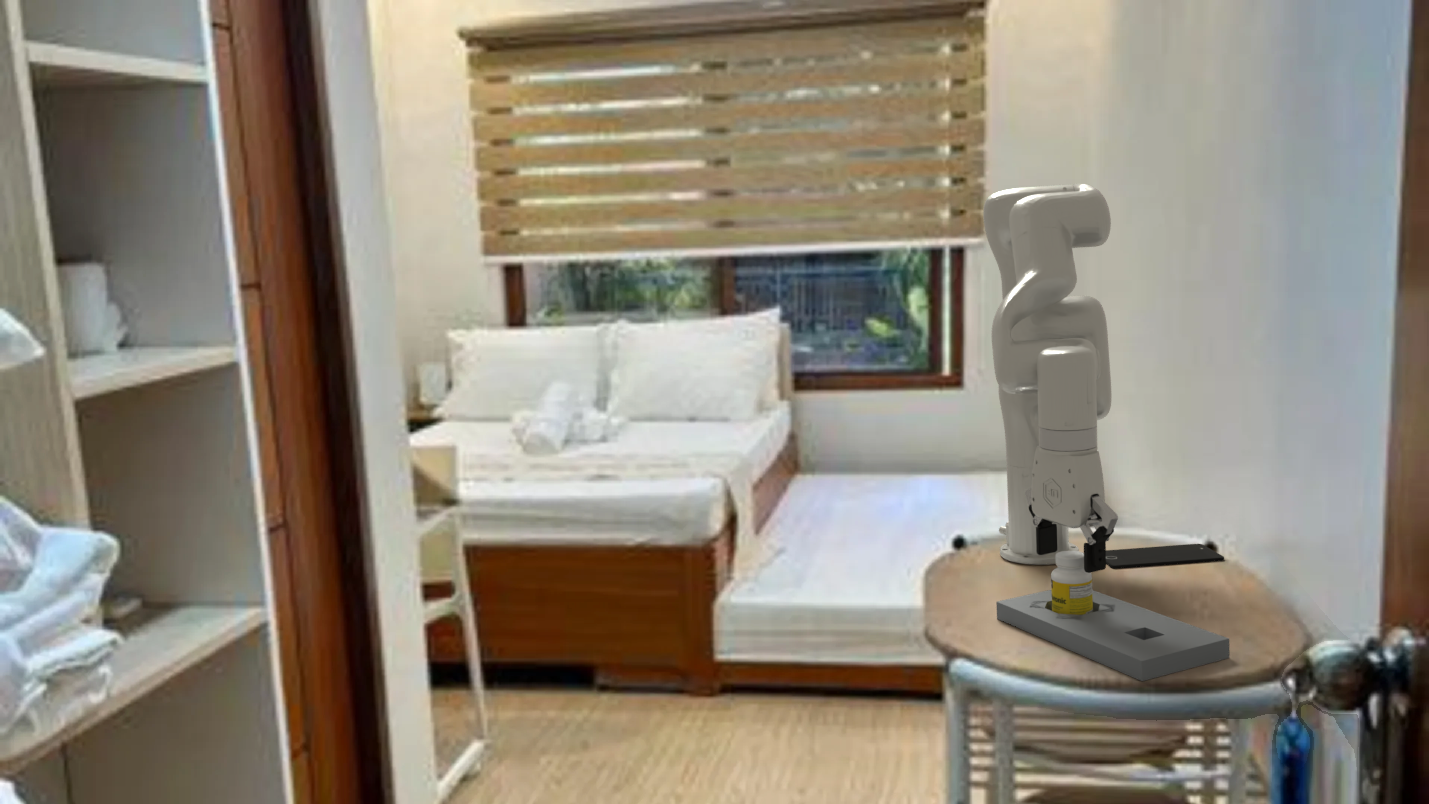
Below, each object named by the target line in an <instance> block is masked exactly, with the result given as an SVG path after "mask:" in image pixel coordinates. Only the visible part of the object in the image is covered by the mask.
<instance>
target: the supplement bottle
mask: <svg viewBox="0 0 1429 804" xmlns="http://www.w3.org/2000/svg"><path fill="white" fill-rule="evenodd" d="M1055 565H1056V566H1057V567H1056V568H1054V569H1053V570H1052V571H1051V572H1050V573H1051V574H1050V584H1051V585H1050V586H1051V589H1050V590H1051V592H1052V611H1053V612H1056V613H1058V614H1073V615H1083V614H1087V613H1092V612H1093V596H1092V590H1093V574H1092V572H1091V573H1087V572H1085V570H1084V551H1083V552H1082V551H1080V550H1079V551H1061V552H1058V553H1056V564H1055Z"/></svg>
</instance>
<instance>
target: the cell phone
mask: <svg viewBox="0 0 1429 804" xmlns="http://www.w3.org/2000/svg"><path fill="white" fill-rule="evenodd" d="M1224 561H1225V557H1224V556H1223V555H1221V554H1219V553H1218V552H1216V551H1215V550H1213V549H1212V548H1209V547H1208V546H1206V545H1204V544H1203V543H1187V544H1177V545H1176V544H1175V545H1162V546H1161V545H1160V546H1147V547H1135V548H1122V549H1119V548H1118V549H1108V550H1107V549H1106V566H1108V567H1109V568H1110V569H1113V570H1117V569H1119V570H1121V569H1133V568H1146V567H1147V568H1148V567H1158V566H1172V565H1173V566H1174V565H1175V566H1176V565H1186V564H1189V565H1190V564H1199V563H1201V564H1202V563H1214V562H1224Z"/></svg>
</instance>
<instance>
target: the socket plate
mask: <svg viewBox="0 0 1429 804" xmlns="http://www.w3.org/2000/svg"><path fill="white" fill-rule="evenodd" d="M1092 596H1093V612H1092V613H1087V614H1083V615H1073V614H1058V613H1056V612H1053V611H1052V592H1051V589H1048V590H1044V591H1039V592H1034V593H1030V594H1024V595H1022V596H1017V597H1012V598H1007V599H1002V600H999V601H996V619H997V620H998V621H1002V622H1003V621H1004V622H1003V623H1006V624H1008V623H1009V625H1010V624H1011V625H1010V626H1012V627H1015V626H1016V627H1015V628H1016V629H1017V628H1018V629H1020V630H1022V631H1025V632H1027V633H1029V634H1032V635H1034V636H1036V637H1038V638H1040V639H1044V640H1046V641H1047V642H1050V643H1053V644H1054V645H1057V646H1059V647H1061V648H1064V649H1066V650H1069V651H1071V652H1073V653H1075V654H1078V655H1080V656H1083V657H1085V658H1087V659H1089V660H1092V661H1094V662H1097V663H1099V664H1101V665H1103V666H1105V667H1109V668H1110V669H1113V670H1115V671H1118V672H1120V673H1122V674H1124V675H1127V676H1129V677H1131V678H1133V679H1136V680H1139V681H1141V682H1145V681H1148V680H1151V679H1156V678H1159V677H1162V676H1166V675H1171V674H1173V673H1178V672H1181V671H1185V670H1190V669H1192V668H1197V667H1201V666H1204V665H1208V664H1211V663H1215V662H1219V661H1220V662H1221V661H1223V660H1227V659H1230V638H1229V637H1226V636H1223V635H1220V634H1218V633H1216V632H1215V633H1214V632H1212V631H1210V630H1207V629H1204V628H1201V627H1198V626H1195V625H1193V624H1189V623H1187V622H1184V621H1181V620H1178V619H1175V618H1172V617H1170V616H1167V615H1164V614H1162V613H1158V612H1156V611H1153V610H1150V609H1147V608H1145V607H1141V606H1138V605H1136V604H1133V603H1130V602H1128V601H1124V600H1121V599H1120V598H1116V597H1114V596H1111V595H1108V594H1105V593H1101V592H1099V591H1096V590H1094V589H1092Z"/></svg>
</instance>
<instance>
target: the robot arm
mask: <svg viewBox="0 0 1429 804" xmlns="http://www.w3.org/2000/svg"><path fill="white" fill-rule="evenodd" d="M982 210H983V212H982V214H983V224H984V231H985V235H986V238H987V241H988V245H989V248H990V250H991V252H992V254H993V256H994V257H993V258H994V260H995V262H996V264H997V266H998V269H999V270H998V271H999V273H1000V279H1001V295H1002V296H1001V297H1002V301H1001V303H1000V304H999V306H998V307H997V309H996V312H995V315H994V318H993V321H992V327H991V346H992V356H993V358H992V359H993V367H994V369H993V370H994V375H995V378H996V382H997V384H998V398H999V404H1000V410H1001V414H1002V420H1003V421H1002V422H1003V427H1004V438H1005V454H1006V456H1005V458H1006V483H1007V484H1006V487H1007V488H1006V489H1007V514H1008V515H1007V516H1008V517H1007V519H1008V521H1007V522H1006V523H1005V525H1001V526H999V528H998V532H999V534H1001V535H1004V536H1006V543H1004V544H1002V545H1001V546H1000V547H999V555H1000V556H1001V557H1002V558H1003V559H1004V560H1006V561H1009V562H1013V563H1017V564H1021V565H1022V564H1024V565H1035V566H1036V565H1038V566H1040V565H1043V566H1044V565H1056V553H1058V552H1061V551H1079V552H1080V548H1079V547H1078V546H1077V545H1076V544H1074V543H1072V542H1069V541H1070V539H1069V537H1070V535H1069V528H1070V529H1078V528H1079V529H1080V531H1081V532H1082V534H1083V537H1084V538H1085V540H1086V542H1085V543H1083V553H1084V570H1085V572H1087V573H1091V574H1092V573H1096V572H1100V571H1103V570H1105V569H1107V565H1106V550H1107V546H1106V543H1107V542H1109V540H1110V537H1111V536H1112V534H1113V533H1114V532H1115V526H1116V524H1117V522H1118V519H1119V516H1118V514H1117V513H1116V511H1114V510H1113V509H1112V508H1111V507H1110V506H1109V505H1108V504H1107V503H1106V499H1105V498H1106V496H1105V483H1104V474H1103V467H1102V461H1101V455H1100V452H1099V451H1098V421H1099V420H1102V419H1104V418H1105V417H1107V416H1108V415H1109V413H1110V411H1111V407H1112V379H1111V365H1110V363H1111V362H1110V352H1109V351H1110V350H1109V349H1110V348H1109V337H1108V335H1109V334H1108V325H1107V317H1106V314H1105V310H1104V308H1103V306H1102V304H1101V302H1100V301H1099V300H1098V299H1097V298H1095V297H1093V296H1089V295H1071V293H1072V292H1073V291H1074V289H1075V288H1076V285H1077V282H1078V278H1077V277H1078V276H1077V269H1076V264H1075V260H1074V253H1073V249H1076V248H1077V249H1078V248H1090V247H1091V248H1095V247H1100V246H1102V245H1105V243H1106V242H1107V240H1108V238H1109V237H1110V231H1111V226H1112V225H1111V224H1112V223H1111V222H1112V221H1111V220H1112V219H1111V213H1110V208H1109V205H1108V202H1107V200H1106V198H1105V196H1104V195H1103V193H1101V191H1100V190H1099V189H1097V188H1095V187H1094V186H1093V185H1090V184H1088V183H1072V184H1071V183H1070V184H1056V185H1055V184H1053V185H1041V186H1040V185H1039V186H1021V187H1015V188H1009V189H1003V190H999V191H997V192H994V193H992V194H991V195H989V196H988V197H987V199H986V200H985V202H984V204H983V209H982ZM1070 295H1071V296H1070ZM1091 527H1093V528H1094V529H1095V531H1094V532H1093V530H1092V529H1091Z"/></svg>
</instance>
